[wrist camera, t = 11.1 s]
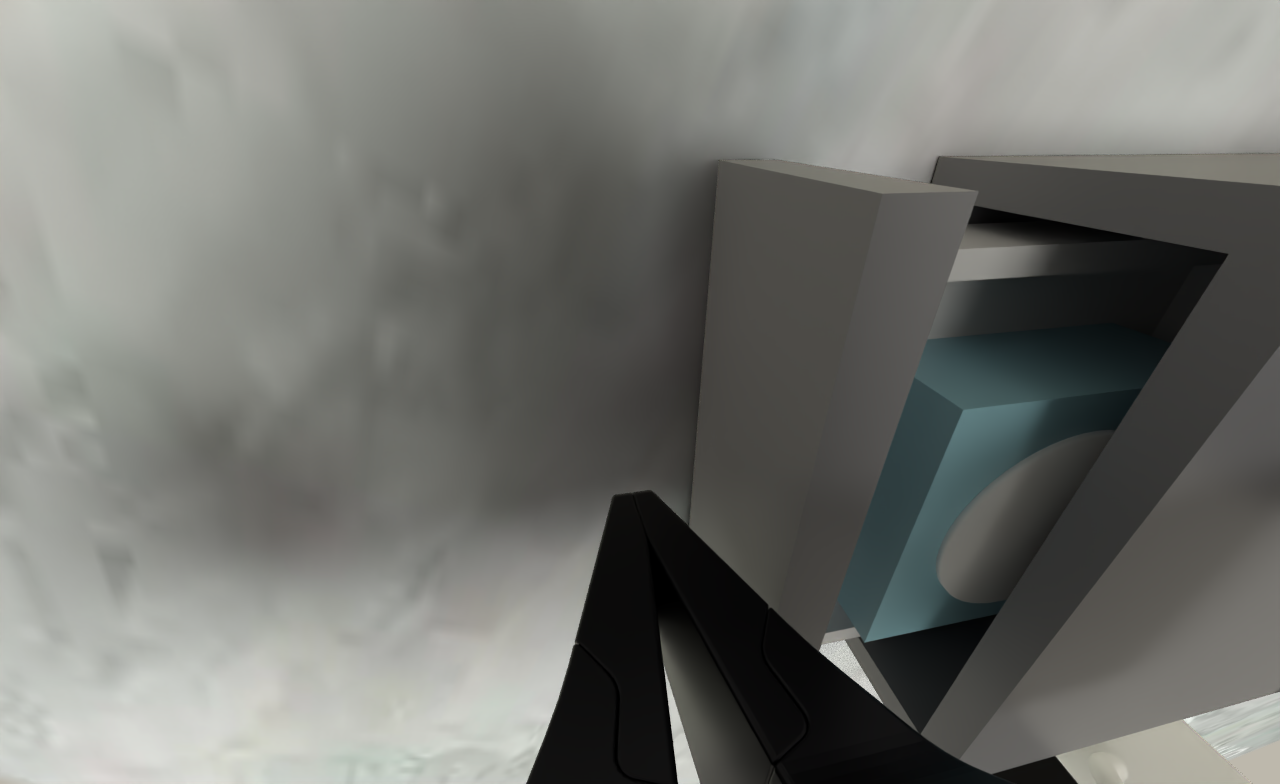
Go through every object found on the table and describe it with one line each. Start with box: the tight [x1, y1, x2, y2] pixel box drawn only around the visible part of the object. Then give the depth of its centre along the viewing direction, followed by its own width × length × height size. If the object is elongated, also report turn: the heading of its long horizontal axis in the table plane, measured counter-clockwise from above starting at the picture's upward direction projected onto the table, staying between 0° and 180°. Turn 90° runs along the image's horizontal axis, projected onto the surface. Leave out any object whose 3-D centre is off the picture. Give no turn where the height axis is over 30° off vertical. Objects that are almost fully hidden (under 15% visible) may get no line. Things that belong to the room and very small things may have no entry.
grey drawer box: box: [845, 153, 1280, 774], centre depth 10 cm, size 11×12×5 cm
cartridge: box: [837, 323, 1171, 643], centre depth 10 cm, size 6×6×2 cm
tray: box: [689, 159, 1228, 651], centre depth 10 cm, size 11×12×4 cm
